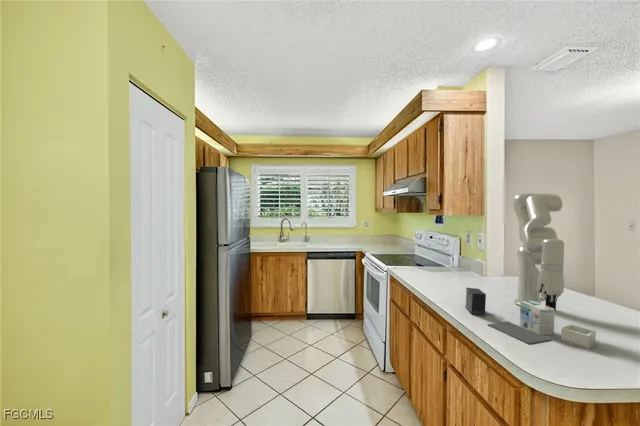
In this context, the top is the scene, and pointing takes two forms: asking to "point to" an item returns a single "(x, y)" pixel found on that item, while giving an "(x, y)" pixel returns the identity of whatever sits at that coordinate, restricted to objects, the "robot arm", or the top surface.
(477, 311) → the small box
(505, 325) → the mat
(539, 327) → the light bulb box
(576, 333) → the grey tub
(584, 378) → the top surface
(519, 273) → the robot arm
